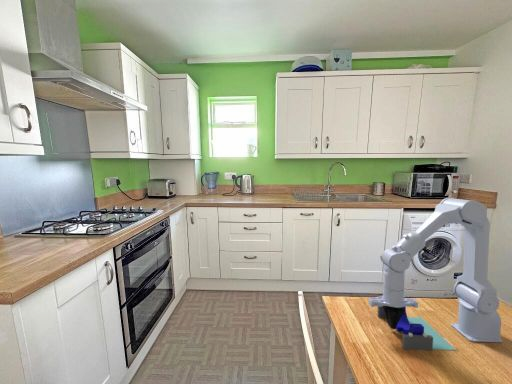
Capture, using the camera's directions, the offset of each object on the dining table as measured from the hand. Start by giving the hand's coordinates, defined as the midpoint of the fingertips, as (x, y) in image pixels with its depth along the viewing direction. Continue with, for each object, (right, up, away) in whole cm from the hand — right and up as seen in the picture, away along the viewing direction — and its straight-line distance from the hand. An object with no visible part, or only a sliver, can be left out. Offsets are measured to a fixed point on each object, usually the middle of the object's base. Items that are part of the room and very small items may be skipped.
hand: (391, 327), depth 74 cm
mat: (+10, -1, 0) cm, 10 cm away
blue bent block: (+4, -2, -1) cm, 4 cm away
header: (+3, -1, 0) cm, 3 cm away
